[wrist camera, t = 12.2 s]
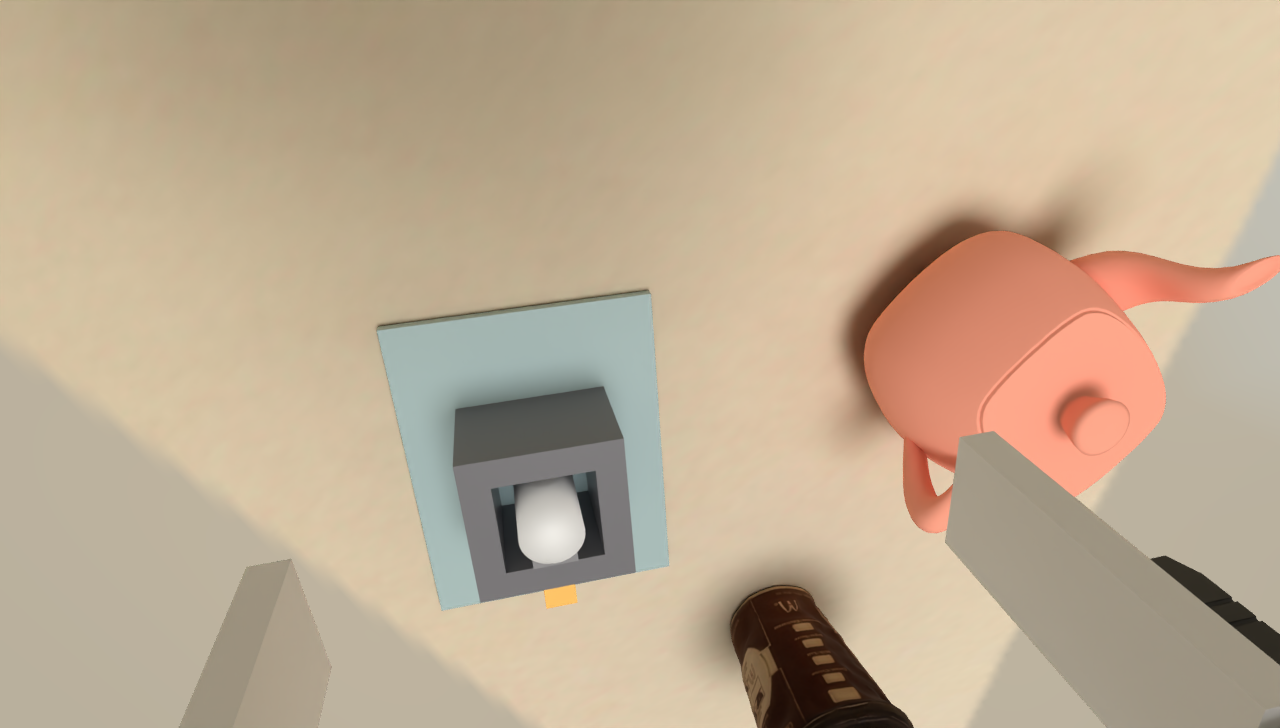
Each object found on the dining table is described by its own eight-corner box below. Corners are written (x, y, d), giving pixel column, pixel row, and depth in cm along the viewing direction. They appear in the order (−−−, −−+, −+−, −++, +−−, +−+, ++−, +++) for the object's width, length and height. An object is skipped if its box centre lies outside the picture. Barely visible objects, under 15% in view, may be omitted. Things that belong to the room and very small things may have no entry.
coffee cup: (736, 687, 52) (812, 871, 41) (691, 612, 49) (760, 790, 37) (844, 630, 52) (951, 797, 41) (807, 551, 49) (913, 709, 37)
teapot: (1135, 278, 46) (1344, 350, 35) (897, 497, 49) (1020, 627, 38) (1034, 122, 40) (1245, 150, 29) (772, 379, 43) (875, 492, 32)
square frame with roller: (455, 408, 39) (452, 466, 34) (603, 386, 40) (623, 438, 35) (482, 548, 43) (483, 621, 37) (617, 524, 44) (637, 590, 39)
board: (378, 326, 37) (356, 389, 30) (648, 290, 39) (685, 341, 32) (442, 603, 44) (436, 704, 38) (666, 559, 47) (700, 647, 40)
